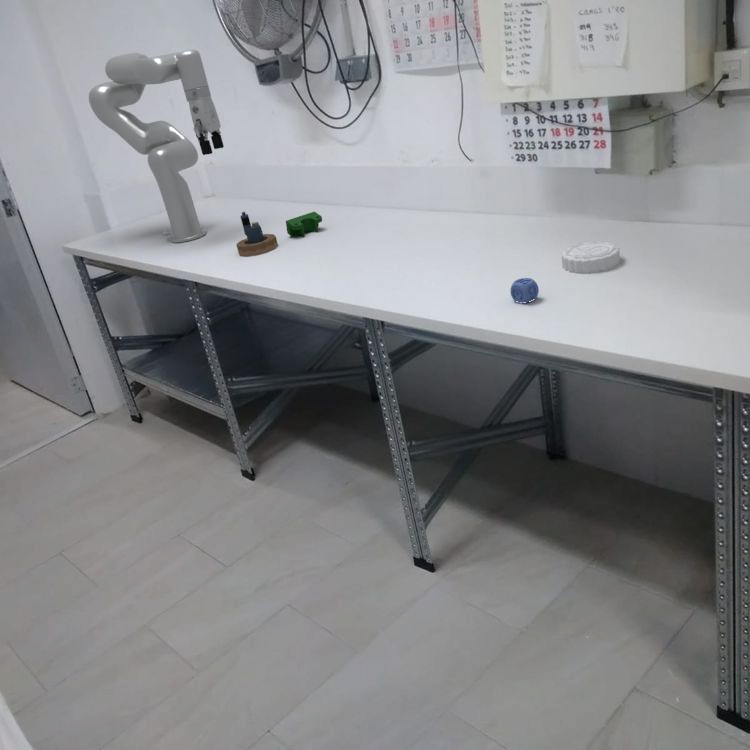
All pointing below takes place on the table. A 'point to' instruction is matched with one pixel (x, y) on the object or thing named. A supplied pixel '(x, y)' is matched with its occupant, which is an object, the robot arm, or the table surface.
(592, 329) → the table surface
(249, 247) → the wooden ring
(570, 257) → the mooncake
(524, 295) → the decorative dice
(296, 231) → the clamp
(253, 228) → the vaping device
